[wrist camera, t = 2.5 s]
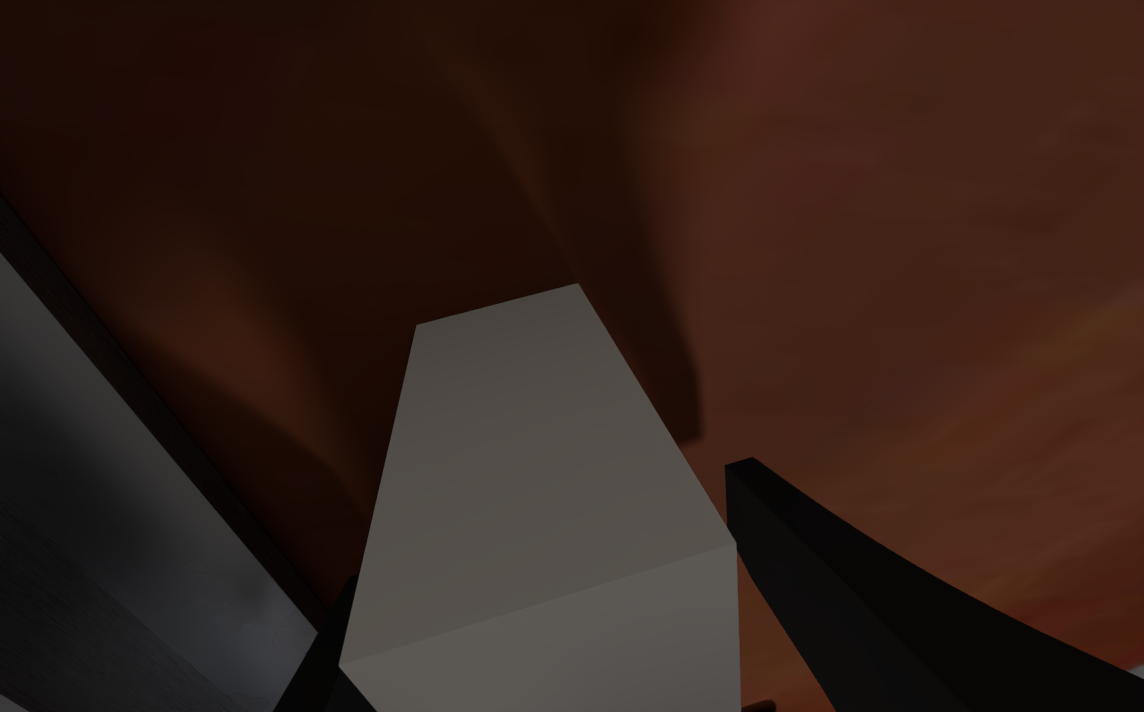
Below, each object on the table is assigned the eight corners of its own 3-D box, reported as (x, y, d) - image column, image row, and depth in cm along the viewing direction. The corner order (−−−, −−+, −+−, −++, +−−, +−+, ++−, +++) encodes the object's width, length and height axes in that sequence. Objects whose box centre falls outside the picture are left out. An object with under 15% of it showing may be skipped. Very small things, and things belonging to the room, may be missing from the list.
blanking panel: (641, 598, 14) (746, 900, 9) (541, 629, 14) (587, 959, 8) (576, 281, 9) (736, 541, 4) (416, 322, 9) (337, 666, 3)
